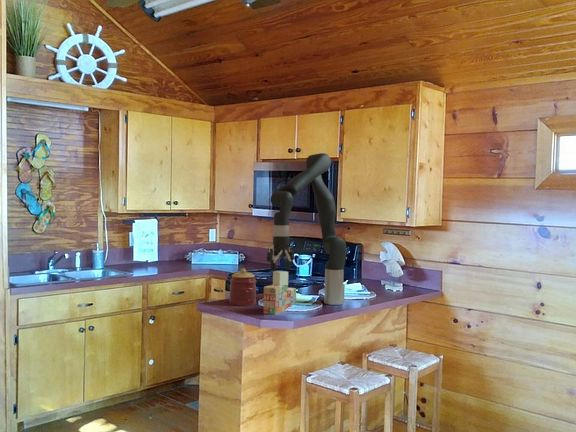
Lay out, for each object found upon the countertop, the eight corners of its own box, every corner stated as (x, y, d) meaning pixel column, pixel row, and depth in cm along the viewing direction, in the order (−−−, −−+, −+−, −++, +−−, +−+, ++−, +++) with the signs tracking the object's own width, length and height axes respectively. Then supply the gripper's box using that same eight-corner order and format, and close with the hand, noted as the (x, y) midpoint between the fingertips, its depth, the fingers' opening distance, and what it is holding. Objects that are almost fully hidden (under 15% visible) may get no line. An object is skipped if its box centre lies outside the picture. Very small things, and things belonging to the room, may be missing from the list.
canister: (236, 301, 276) (237, 266, 275) (260, 303, 271) (261, 267, 271) (224, 305, 264) (225, 268, 263) (248, 308, 259) (249, 270, 258)
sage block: (281, 283, 258) (281, 270, 258) (288, 284, 254) (288, 271, 254) (272, 284, 255) (273, 271, 254) (279, 285, 251) (279, 272, 251)
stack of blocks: (284, 306, 267) (285, 280, 267) (296, 307, 264) (296, 281, 264) (262, 313, 248) (263, 286, 248) (275, 315, 245) (275, 287, 245)
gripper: (287, 234, 260) (287, 268, 261) (263, 235, 251) (263, 270, 251) (298, 235, 255) (297, 270, 255) (274, 236, 245) (273, 272, 246)
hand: (280, 270), depth 253 cm, fingers open, 8 cm apart
